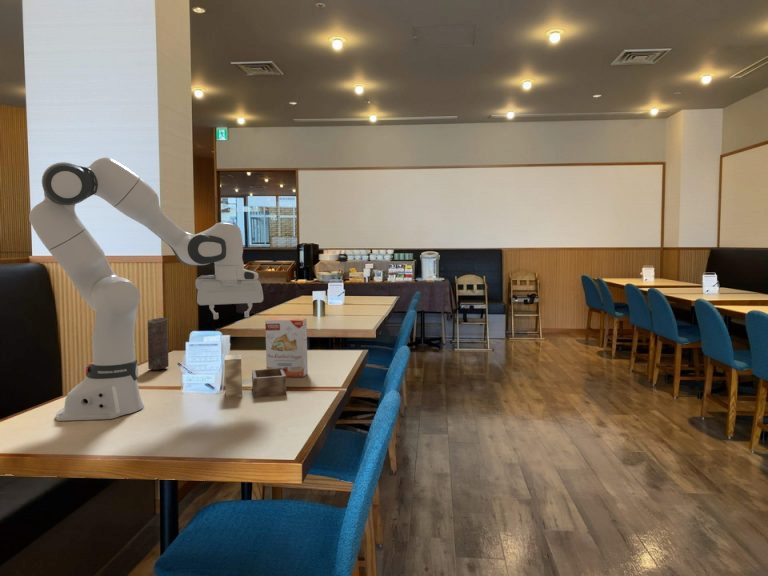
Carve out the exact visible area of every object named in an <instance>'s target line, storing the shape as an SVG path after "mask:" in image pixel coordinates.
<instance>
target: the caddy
mask: <svg viewBox="0 0 768 576" xmlns="http://www.w3.org/2000/svg"><path fill="white" fill-rule="evenodd" d="M251 382H252V384H251V385H252V388H251V389H252V394H253V398H265V397H276V396H286V395H287V377H286V375H285V373H284V371H283V369H282V368H273V369H267V368H262V369H261V368H260V369H252V370H251Z"/></svg>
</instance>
